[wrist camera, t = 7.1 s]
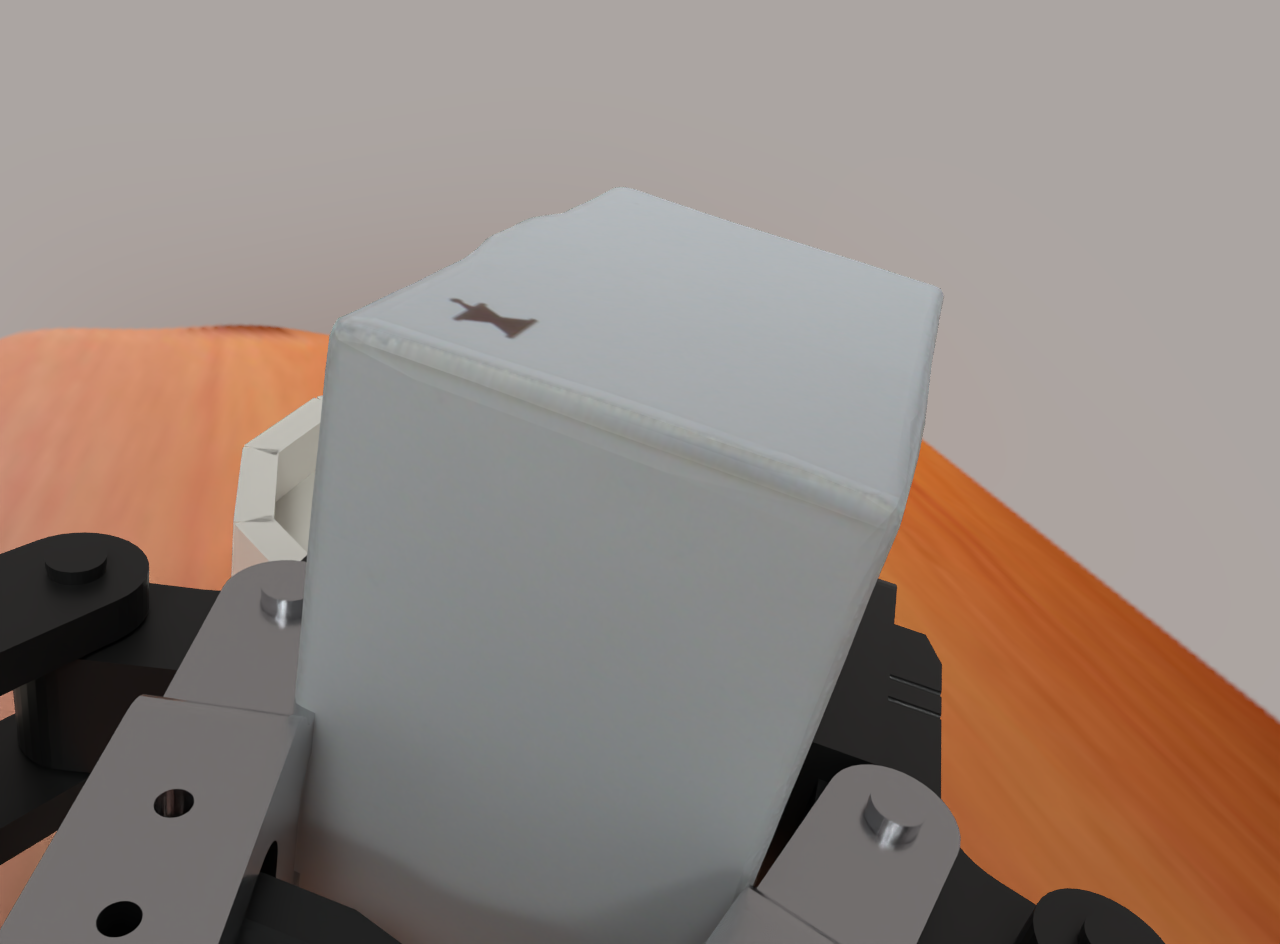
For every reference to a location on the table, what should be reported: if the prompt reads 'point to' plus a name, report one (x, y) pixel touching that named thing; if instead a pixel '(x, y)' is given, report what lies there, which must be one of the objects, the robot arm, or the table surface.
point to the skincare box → (593, 568)
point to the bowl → (277, 490)
